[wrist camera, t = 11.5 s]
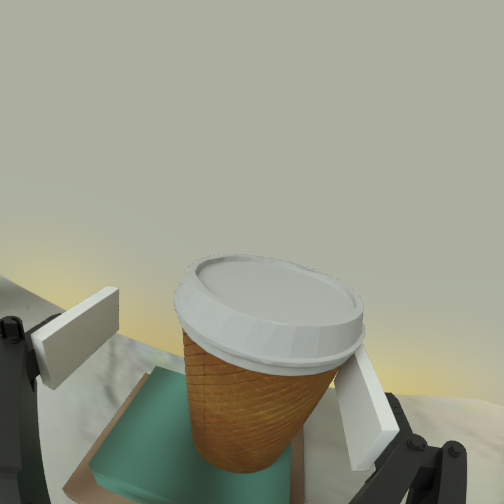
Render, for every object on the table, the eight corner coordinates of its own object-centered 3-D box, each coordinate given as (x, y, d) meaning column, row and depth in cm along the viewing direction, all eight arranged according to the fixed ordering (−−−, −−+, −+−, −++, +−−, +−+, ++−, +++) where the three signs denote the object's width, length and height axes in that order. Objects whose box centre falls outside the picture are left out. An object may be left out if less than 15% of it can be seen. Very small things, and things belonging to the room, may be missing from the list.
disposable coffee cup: (143, 460, 13) (133, 285, 10) (198, 381, 22) (218, 242, 19) (295, 508, 11) (394, 355, 8) (309, 412, 20) (359, 276, 17)
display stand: (68, 497, 10) (47, 467, 9) (145, 383, 26) (145, 348, 24) (295, 562, 9) (322, 547, 8) (298, 420, 24) (312, 388, 23)
